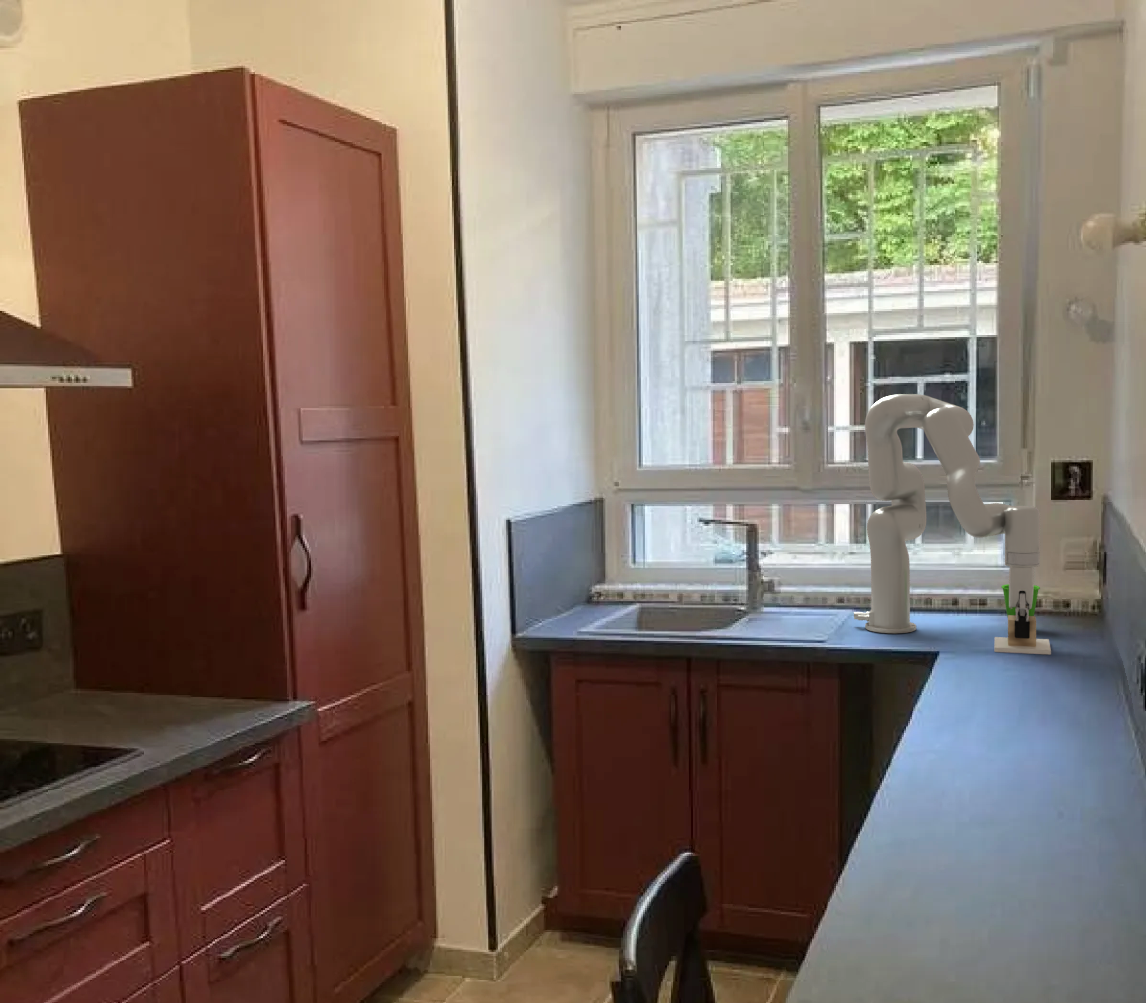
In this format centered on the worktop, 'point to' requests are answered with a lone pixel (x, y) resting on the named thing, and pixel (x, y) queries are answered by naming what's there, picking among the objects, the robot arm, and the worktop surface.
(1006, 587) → the cup
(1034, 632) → the block
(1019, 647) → the panel
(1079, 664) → the worktop surface
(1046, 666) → the worktop surface
